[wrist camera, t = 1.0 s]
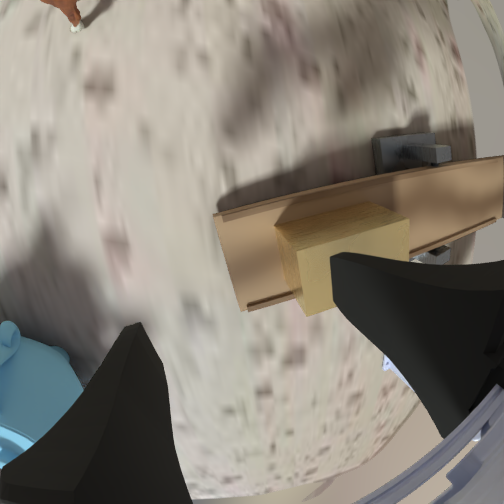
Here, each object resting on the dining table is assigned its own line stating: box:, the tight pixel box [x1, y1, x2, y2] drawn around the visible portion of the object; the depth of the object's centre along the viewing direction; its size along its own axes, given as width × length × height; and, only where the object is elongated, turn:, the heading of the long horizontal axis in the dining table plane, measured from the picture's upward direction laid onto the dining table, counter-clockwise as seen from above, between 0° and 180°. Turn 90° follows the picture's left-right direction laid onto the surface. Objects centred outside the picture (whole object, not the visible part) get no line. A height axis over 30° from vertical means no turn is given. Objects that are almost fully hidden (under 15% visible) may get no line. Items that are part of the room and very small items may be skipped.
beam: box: [213, 155, 504, 312], centre depth 17 cm, size 8×36×6 cm, turn 103°
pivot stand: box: [372, 132, 452, 265], centre depth 21 cm, size 12×8×5 cm, turn 13°
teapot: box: [0, 321, 84, 469], centre depth 12 cm, size 13×14×11 cm
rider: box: [274, 201, 409, 317], centre depth 16 cm, size 4×7×4 cm, turn 103°
